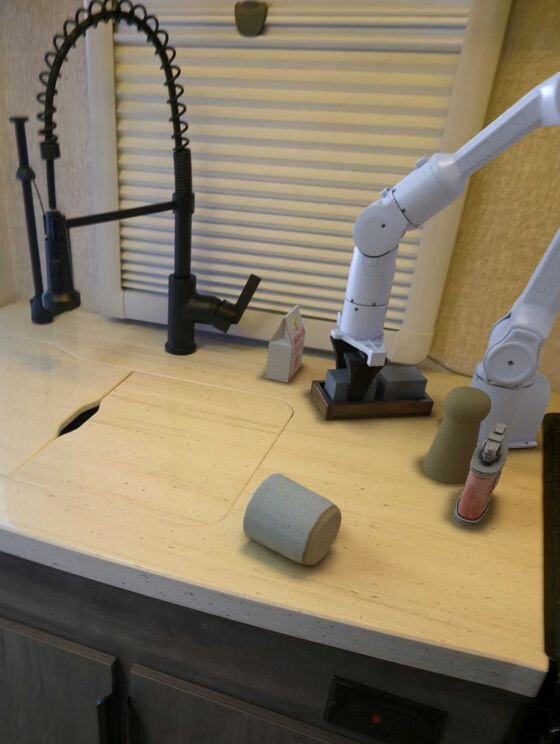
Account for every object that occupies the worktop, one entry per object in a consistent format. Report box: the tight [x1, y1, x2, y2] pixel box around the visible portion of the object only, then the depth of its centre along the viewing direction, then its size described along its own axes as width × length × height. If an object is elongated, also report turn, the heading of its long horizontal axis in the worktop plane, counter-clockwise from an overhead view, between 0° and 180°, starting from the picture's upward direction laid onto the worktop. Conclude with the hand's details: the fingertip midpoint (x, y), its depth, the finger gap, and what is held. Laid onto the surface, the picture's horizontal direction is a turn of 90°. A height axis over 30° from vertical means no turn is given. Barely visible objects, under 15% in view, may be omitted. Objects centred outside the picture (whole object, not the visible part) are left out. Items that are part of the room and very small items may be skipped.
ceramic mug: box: [242, 472, 342, 566], centre depth 70 cm, size 11×8×8 cm
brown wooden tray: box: [309, 366, 435, 421], centre depth 97 cm, size 16×8×5 cm, turn 96°
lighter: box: [453, 423, 509, 528], centre depth 75 cm, size 8×3×10 cm, turn 148°
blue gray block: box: [324, 368, 377, 403], centre depth 96 cm, size 6×4×4 cm
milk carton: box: [265, 304, 307, 384], centre depth 104 cm, size 4×7×10 cm, turn 154°
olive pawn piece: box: [422, 385, 491, 485], centre depth 81 cm, size 6×6×11 cm
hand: (349, 391), depth 97 cm, fingers closed on blue gray block, 4 cm apart
